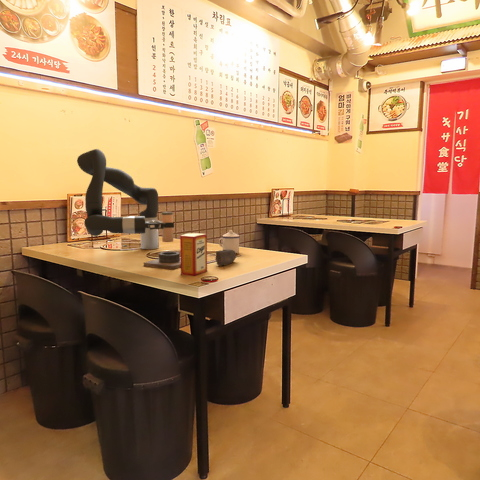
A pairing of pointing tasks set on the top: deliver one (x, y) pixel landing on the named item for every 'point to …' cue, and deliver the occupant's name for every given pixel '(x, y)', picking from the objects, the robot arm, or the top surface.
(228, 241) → the teacup with lid
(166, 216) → the tan cylinder
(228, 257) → the perforated stone tool
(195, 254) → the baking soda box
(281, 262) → the top surface
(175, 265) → the socket board
